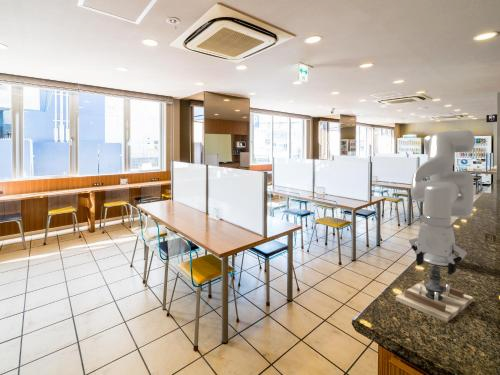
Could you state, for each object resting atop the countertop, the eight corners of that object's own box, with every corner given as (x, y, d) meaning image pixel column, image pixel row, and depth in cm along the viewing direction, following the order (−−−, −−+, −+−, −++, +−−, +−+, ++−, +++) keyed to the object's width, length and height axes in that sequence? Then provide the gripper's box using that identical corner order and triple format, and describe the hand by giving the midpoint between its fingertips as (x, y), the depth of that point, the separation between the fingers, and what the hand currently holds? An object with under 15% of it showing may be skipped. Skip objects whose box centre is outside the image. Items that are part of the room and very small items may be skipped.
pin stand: (423, 283, 107) (423, 270, 106) (472, 301, 94) (473, 286, 93) (395, 300, 96) (395, 285, 96) (447, 322, 83) (448, 305, 82)
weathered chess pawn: (420, 294, 97) (421, 262, 95) (431, 290, 99) (433, 259, 97) (436, 302, 91) (438, 268, 90) (448, 298, 93) (450, 265, 92)
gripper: (405, 218, 97) (404, 263, 99) (462, 228, 83) (460, 281, 85) (415, 214, 101) (414, 258, 103) (472, 223, 87) (469, 274, 89)
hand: (435, 268), depth 94 cm, fingers open, 9 cm apart
